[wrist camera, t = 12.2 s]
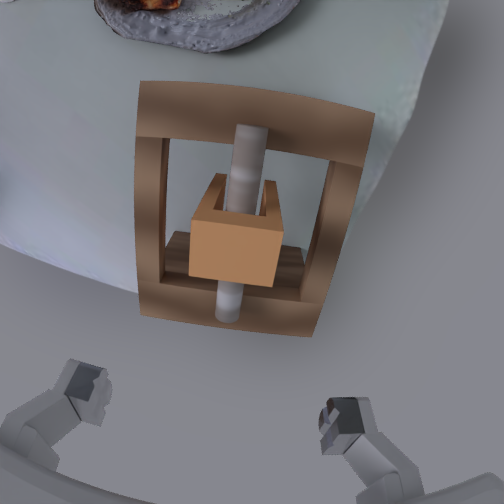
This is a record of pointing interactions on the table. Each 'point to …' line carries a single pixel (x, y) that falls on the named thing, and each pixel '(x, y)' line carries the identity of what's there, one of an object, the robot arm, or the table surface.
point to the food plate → (191, 33)
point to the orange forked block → (236, 238)
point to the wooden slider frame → (243, 199)
